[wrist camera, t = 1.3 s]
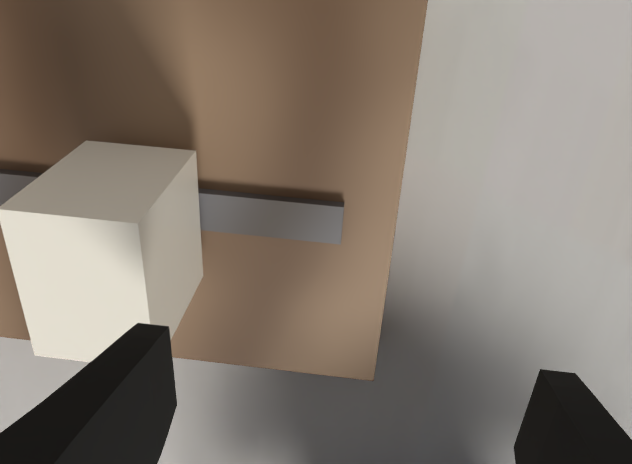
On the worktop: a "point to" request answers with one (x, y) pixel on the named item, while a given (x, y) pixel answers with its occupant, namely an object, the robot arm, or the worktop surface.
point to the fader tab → (105, 246)
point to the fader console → (236, 153)
